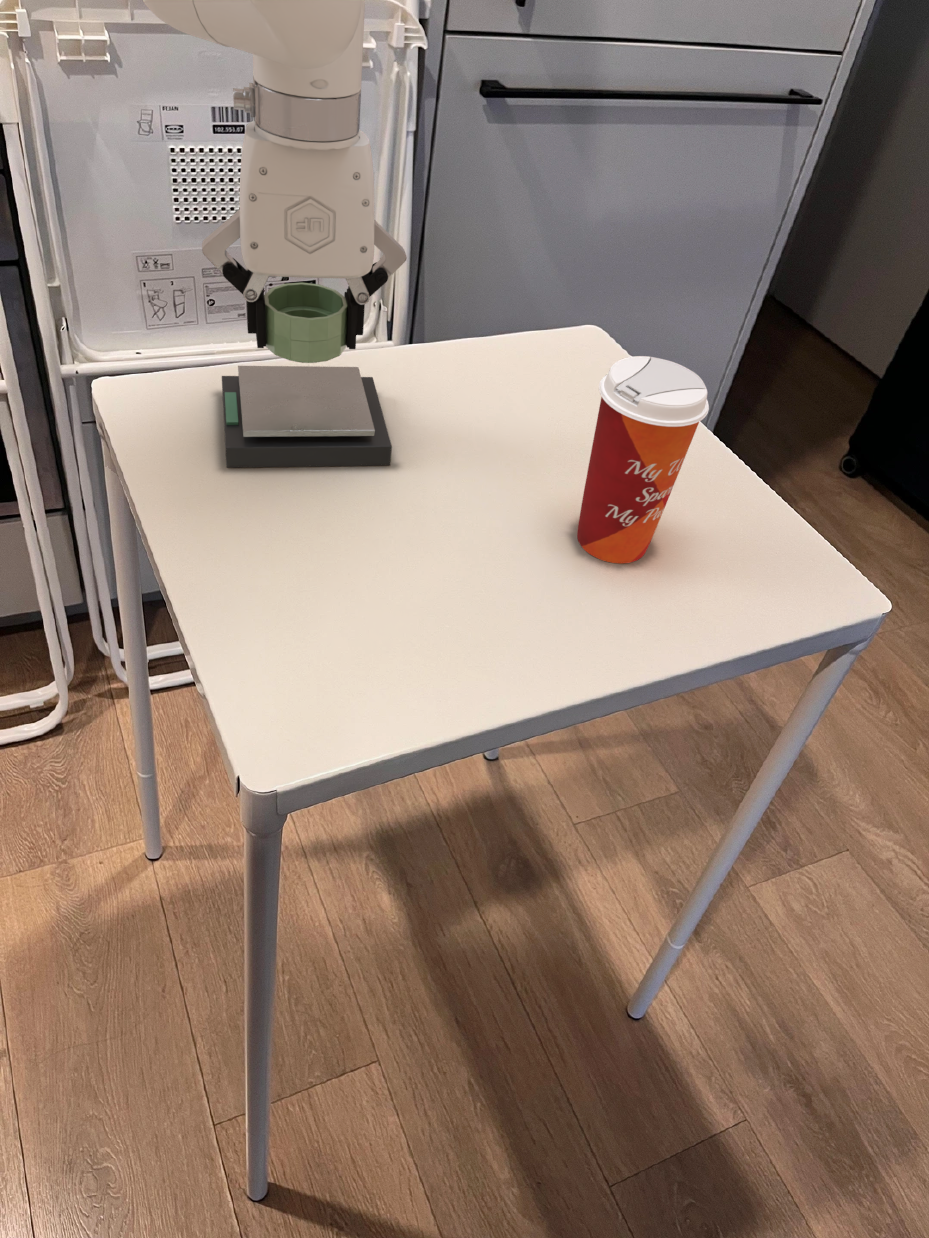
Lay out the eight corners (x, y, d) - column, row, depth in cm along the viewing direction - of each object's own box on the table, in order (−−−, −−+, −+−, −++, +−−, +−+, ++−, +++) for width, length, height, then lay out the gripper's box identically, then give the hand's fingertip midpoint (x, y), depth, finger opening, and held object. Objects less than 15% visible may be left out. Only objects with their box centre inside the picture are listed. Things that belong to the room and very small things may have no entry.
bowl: (267, 367, 77) (266, 319, 75) (262, 328, 82) (261, 281, 79) (349, 368, 79) (351, 320, 76) (340, 329, 84) (341, 283, 81)
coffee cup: (615, 585, 75) (666, 420, 65) (542, 531, 79) (579, 367, 69) (681, 550, 80) (738, 390, 69) (609, 500, 84) (653, 342, 74)
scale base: (226, 468, 80) (225, 444, 79) (222, 394, 89) (221, 372, 87) (390, 465, 83) (392, 443, 82) (371, 395, 92) (372, 374, 90)
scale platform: (243, 437, 79) (243, 431, 79) (238, 371, 87) (237, 365, 86) (374, 436, 82) (374, 430, 81) (358, 372, 89) (358, 366, 89)
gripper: (181, 120, 64) (199, 362, 76) (435, 136, 68) (413, 364, 80) (182, 87, 69) (198, 319, 81) (417, 104, 73) (399, 322, 85)
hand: (305, 339), depth 80 cm, fingers closed on bowl, 6 cm apart
